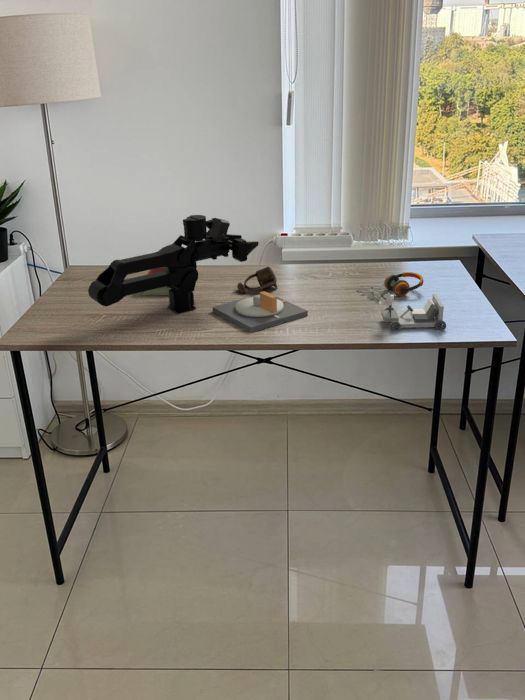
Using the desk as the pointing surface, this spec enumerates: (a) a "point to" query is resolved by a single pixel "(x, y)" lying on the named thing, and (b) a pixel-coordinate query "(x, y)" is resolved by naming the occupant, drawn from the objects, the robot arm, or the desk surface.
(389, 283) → the headphones
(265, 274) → the brown curved looped piece
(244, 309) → the dial
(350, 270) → the desk surface
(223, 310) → the dial board
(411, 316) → the toy car
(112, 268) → the robot arm
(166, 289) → the hardcover book
